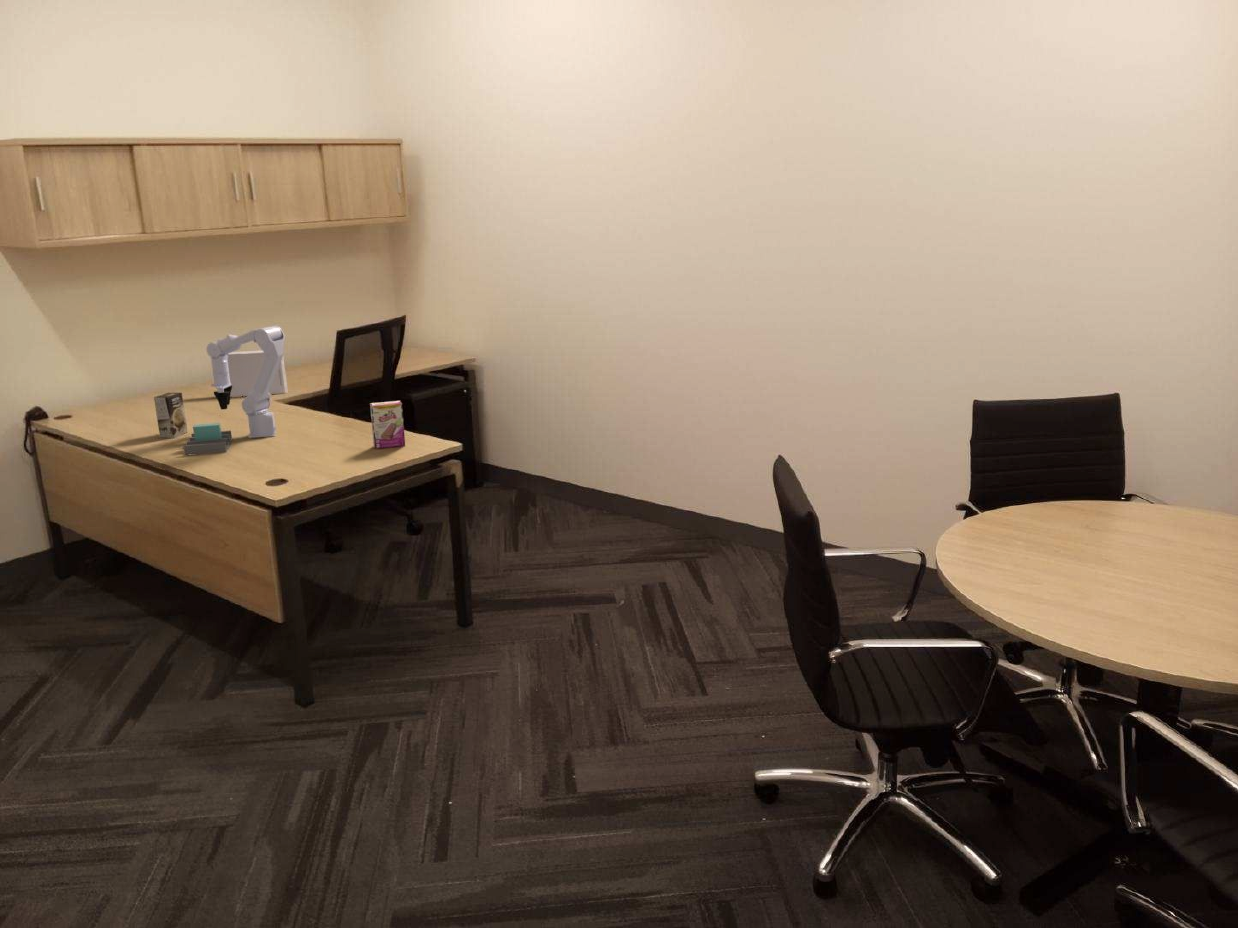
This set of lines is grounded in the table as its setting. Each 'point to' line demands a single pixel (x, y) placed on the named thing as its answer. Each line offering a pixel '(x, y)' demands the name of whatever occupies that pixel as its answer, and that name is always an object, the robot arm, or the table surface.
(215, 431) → the tall teal block
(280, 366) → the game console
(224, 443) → the rack
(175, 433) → the coffee box
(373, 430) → the candy bar box
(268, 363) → the robot arm
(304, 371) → the table surface
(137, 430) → the table surface
